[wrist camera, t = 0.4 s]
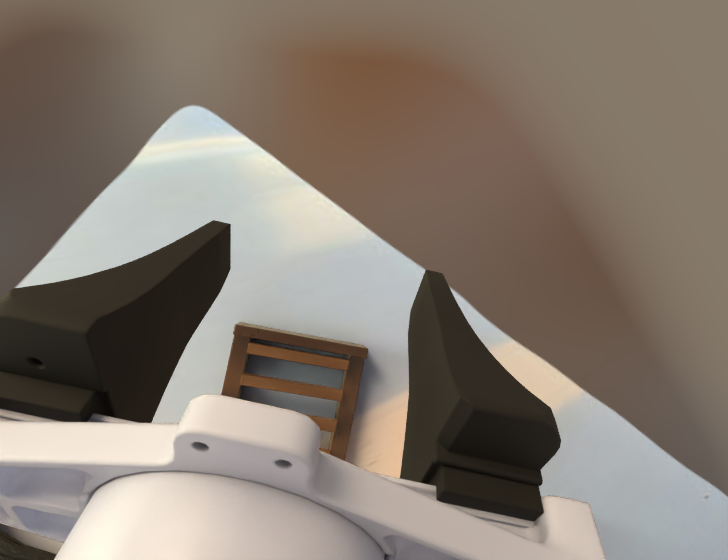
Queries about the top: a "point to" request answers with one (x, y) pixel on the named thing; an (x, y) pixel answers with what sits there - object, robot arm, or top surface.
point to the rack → (344, 395)
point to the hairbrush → (20, 550)
